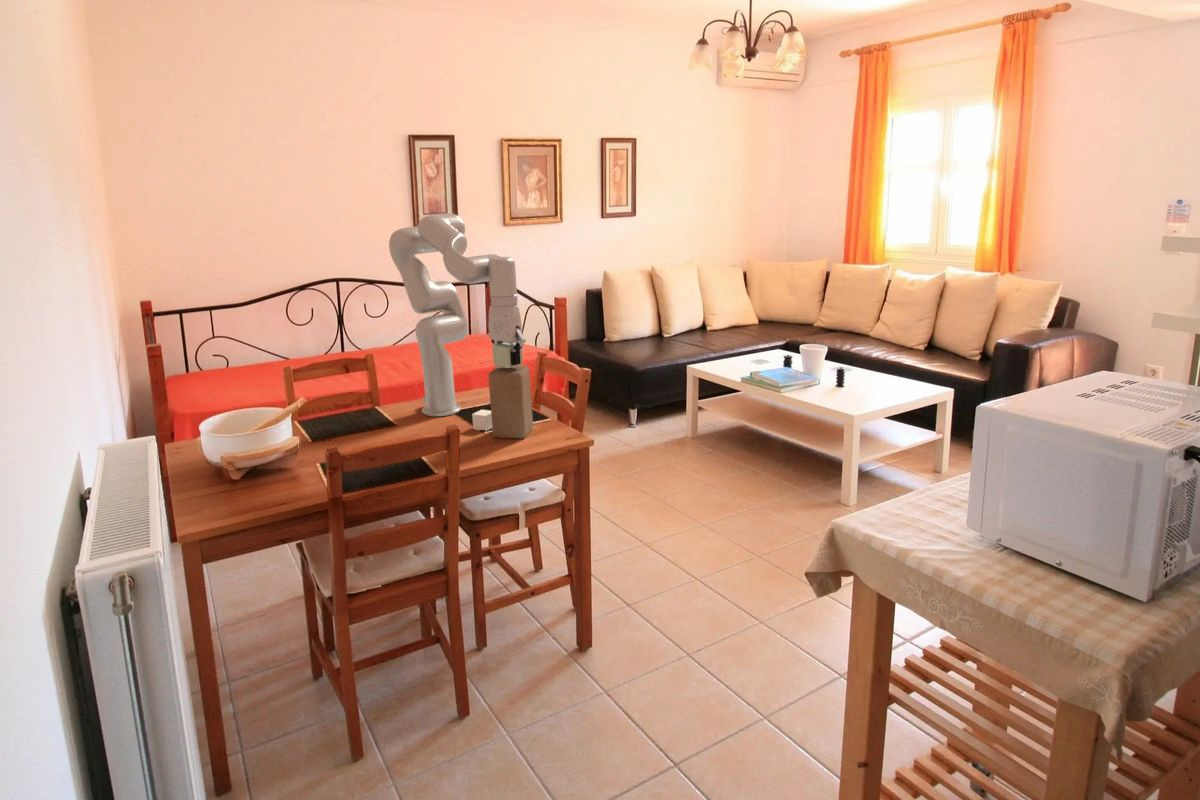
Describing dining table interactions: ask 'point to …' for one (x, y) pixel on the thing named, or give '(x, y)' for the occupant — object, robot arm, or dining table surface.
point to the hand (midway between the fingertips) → (508, 362)
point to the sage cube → (504, 355)
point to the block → (510, 401)
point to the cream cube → (482, 420)
